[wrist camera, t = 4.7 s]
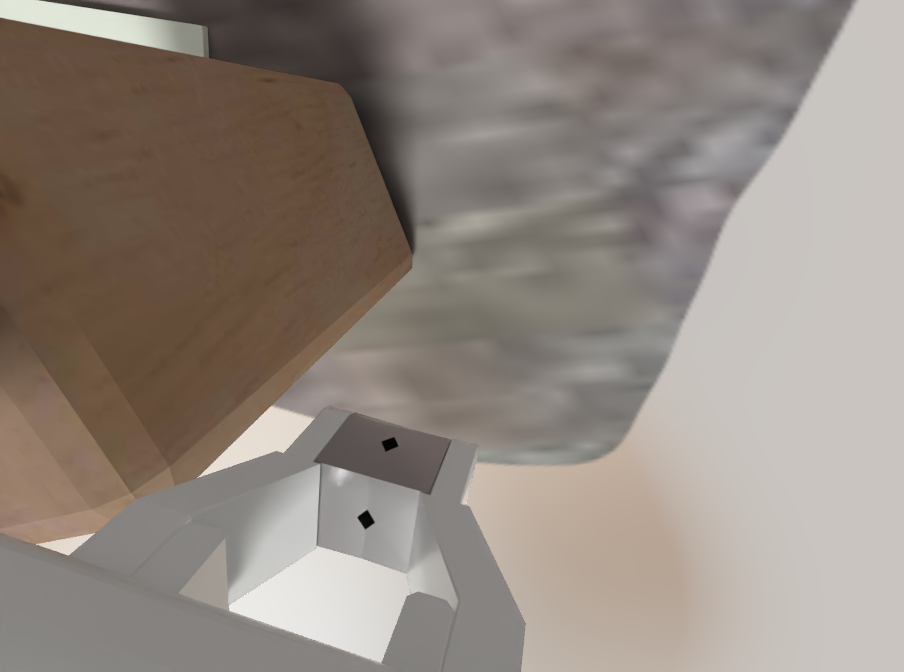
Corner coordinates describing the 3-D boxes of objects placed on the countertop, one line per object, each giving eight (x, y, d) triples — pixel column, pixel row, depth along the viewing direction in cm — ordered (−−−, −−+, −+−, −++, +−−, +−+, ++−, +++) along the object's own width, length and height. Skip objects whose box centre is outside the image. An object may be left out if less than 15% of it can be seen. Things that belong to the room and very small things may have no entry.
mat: (207, 27, 25) (202, 25, 25) (221, 316, 32) (217, 318, 31) (-136, -26, 28) (-145, -28, 28) (-58, 246, 35) (-65, 248, 34)
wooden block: (350, 76, 24) (-265, -71, 6) (423, 266, 27) (159, 544, 9) (194, 151, 27) (-523, 199, 9) (276, 314, 30) (-140, 594, 12)
